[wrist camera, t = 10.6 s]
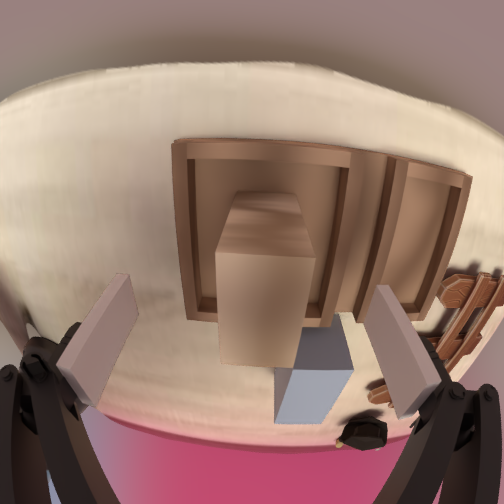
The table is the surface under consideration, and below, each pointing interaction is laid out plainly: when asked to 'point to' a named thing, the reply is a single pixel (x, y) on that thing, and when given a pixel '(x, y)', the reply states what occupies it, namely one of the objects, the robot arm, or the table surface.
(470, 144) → the table surface
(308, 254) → the wooden block
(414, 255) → the tray
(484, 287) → the decorative fence
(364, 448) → the toy
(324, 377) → the grey rectangular block
